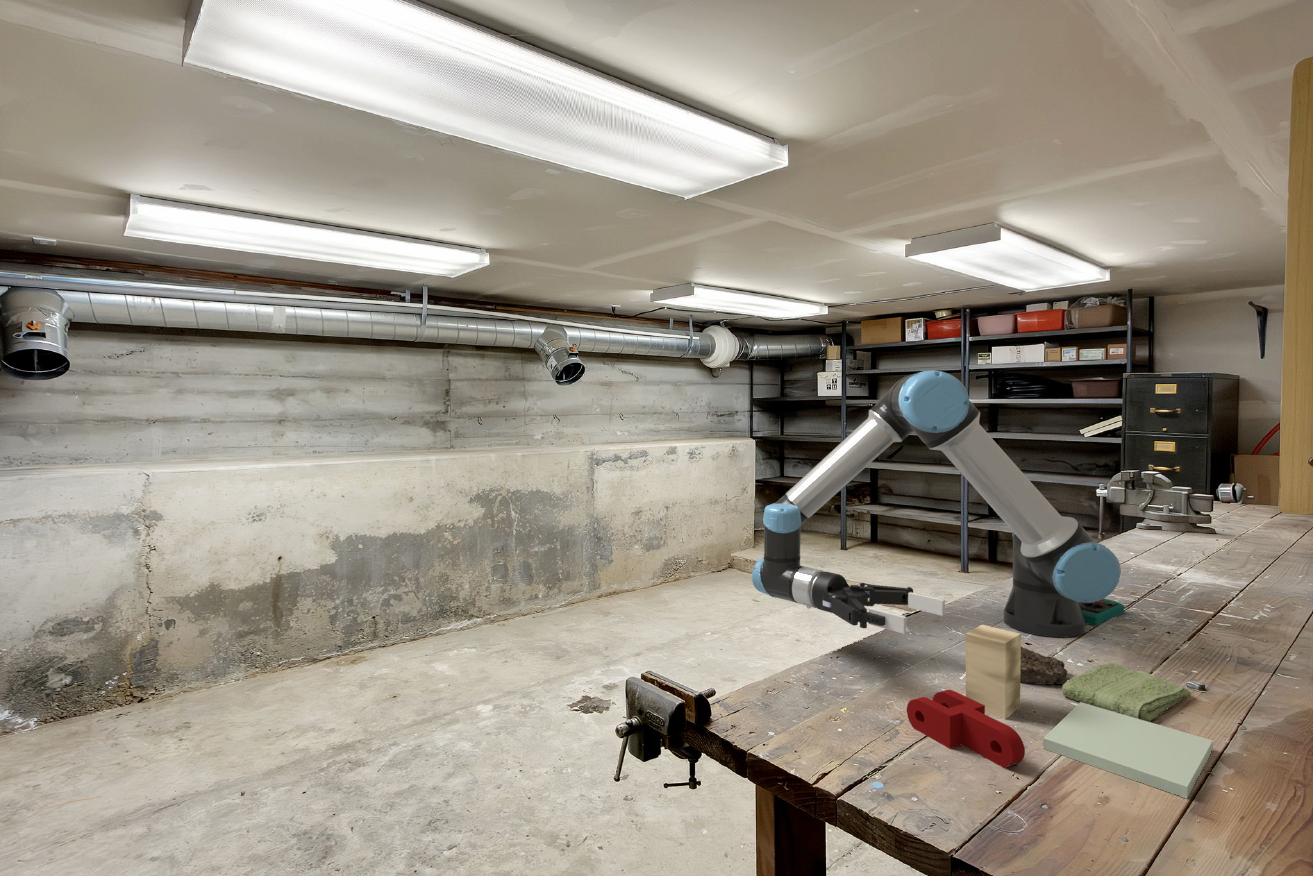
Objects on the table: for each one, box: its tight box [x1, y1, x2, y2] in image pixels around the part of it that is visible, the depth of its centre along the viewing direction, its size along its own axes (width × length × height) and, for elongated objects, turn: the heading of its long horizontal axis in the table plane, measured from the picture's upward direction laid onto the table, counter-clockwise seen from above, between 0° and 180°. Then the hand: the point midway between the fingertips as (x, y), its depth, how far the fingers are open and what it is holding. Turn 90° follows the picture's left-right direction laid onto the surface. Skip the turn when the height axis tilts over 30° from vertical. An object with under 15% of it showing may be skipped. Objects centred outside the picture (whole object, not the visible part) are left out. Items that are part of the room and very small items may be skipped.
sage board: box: [1042, 702, 1214, 800], centre depth 91 cm, size 16×16×2 cm
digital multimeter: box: [1078, 598, 1125, 627], centre depth 147 cm, size 7×15×3 cm, turn 124°
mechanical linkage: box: [906, 689, 1026, 769], centre depth 94 cm, size 16×7×5 cm, turn 25°
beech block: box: [965, 624, 1022, 720], centre depth 104 cm, size 6×6×12 cm
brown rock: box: [1020, 646, 1068, 685], centre depth 116 cm, size 12×10×5 cm
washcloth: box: [1060, 662, 1192, 722], centre depth 107 cm, size 13×18×3 cm
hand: (925, 616), depth 112 cm, fingers open, 13 cm apart
